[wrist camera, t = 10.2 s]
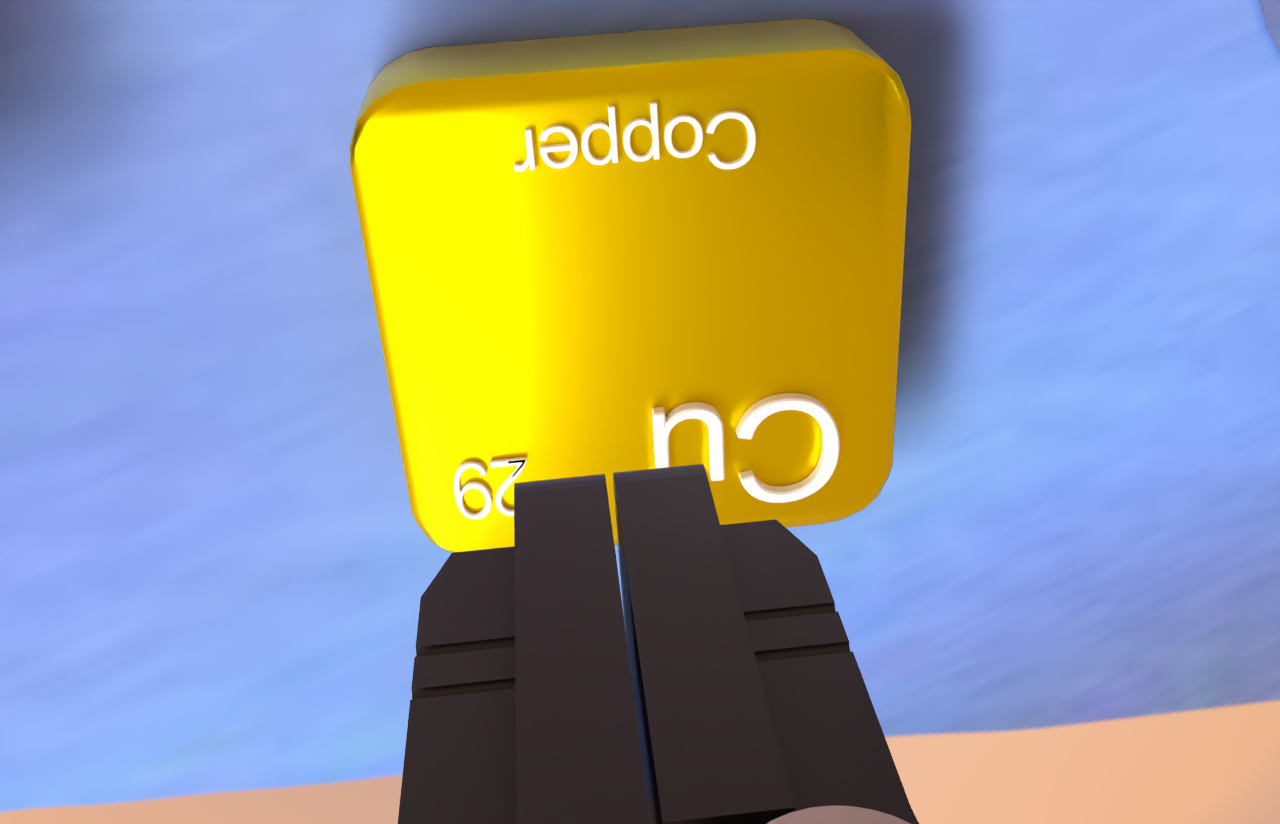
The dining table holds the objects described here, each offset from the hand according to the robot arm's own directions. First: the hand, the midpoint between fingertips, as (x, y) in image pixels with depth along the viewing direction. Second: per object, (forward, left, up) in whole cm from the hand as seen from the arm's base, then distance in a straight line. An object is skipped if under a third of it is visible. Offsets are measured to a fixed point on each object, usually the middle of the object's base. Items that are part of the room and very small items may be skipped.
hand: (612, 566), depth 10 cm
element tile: (-6, +7, -28) cm, 29 cm away
